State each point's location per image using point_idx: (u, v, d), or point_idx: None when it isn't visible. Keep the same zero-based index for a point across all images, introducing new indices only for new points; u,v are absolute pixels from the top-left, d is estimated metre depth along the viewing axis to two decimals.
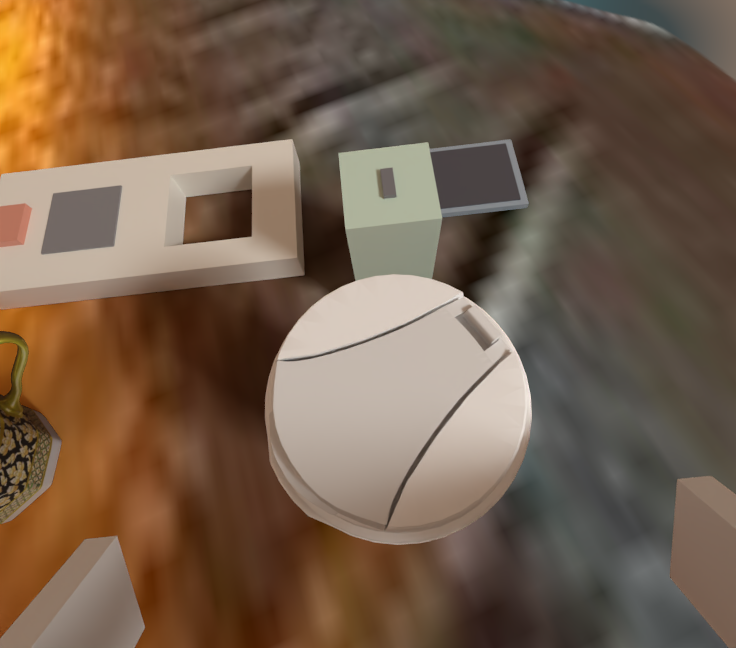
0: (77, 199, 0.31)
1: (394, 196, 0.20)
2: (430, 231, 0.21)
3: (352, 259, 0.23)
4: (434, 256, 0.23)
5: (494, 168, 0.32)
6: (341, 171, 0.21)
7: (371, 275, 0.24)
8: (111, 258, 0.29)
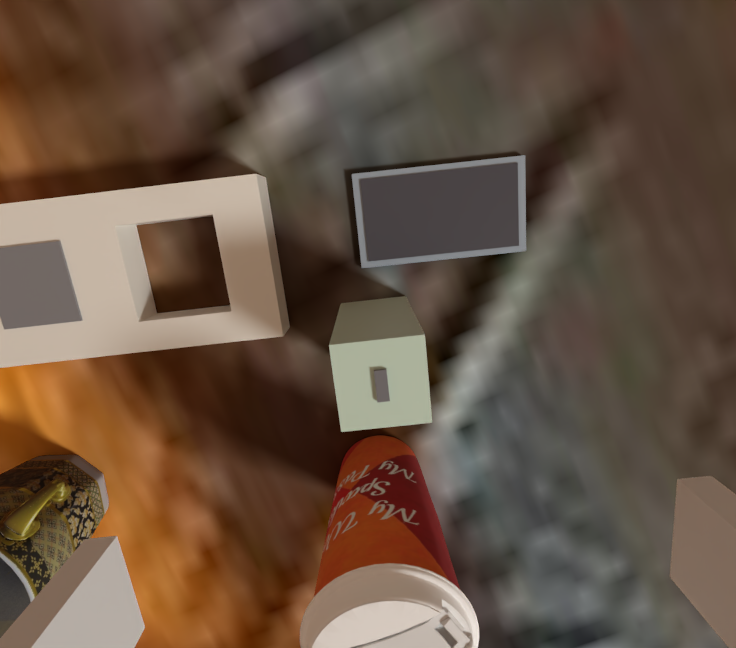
0: (13, 260, 0.26)
1: (387, 400, 0.21)
2: None
3: None
4: None
5: (497, 201, 0.28)
6: (333, 368, 0.20)
7: None
8: (85, 335, 0.28)
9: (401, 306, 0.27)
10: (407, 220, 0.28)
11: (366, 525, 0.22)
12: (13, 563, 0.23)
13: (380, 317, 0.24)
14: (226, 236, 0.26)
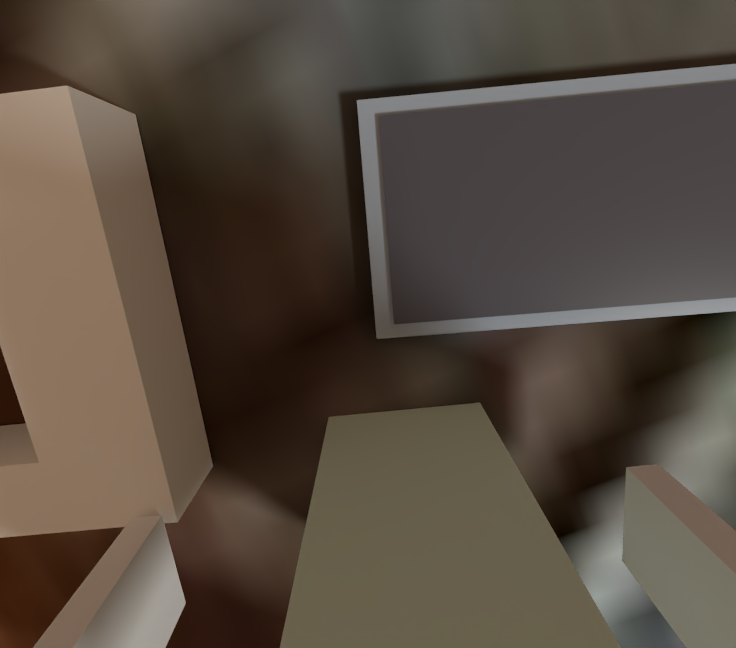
0: None
1: None
2: None
3: None
4: None
5: None
6: None
7: None
8: None
9: (490, 466, 0.10)
10: (495, 226, 0.11)
11: None
12: None
13: (446, 550, 0.07)
14: (1, 270, 0.09)
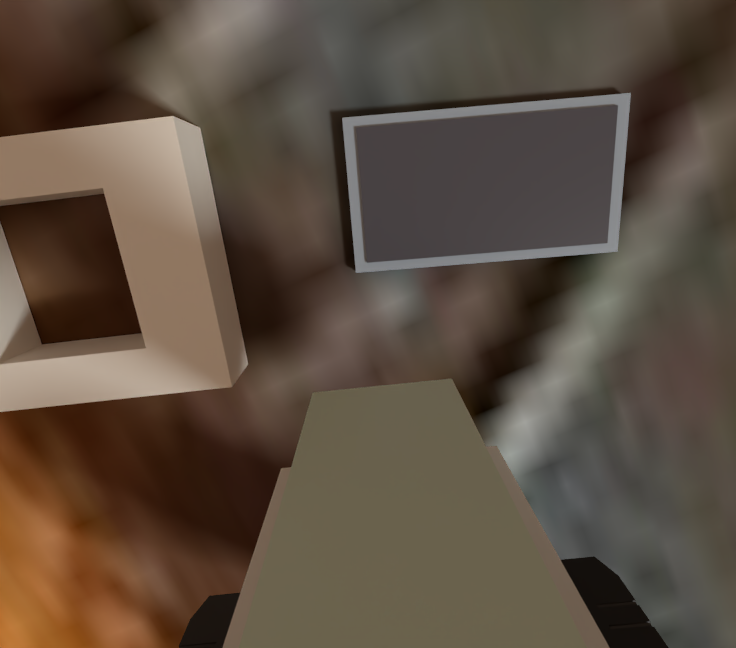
0: None
1: None
2: None
3: None
4: None
5: (580, 170, 0.17)
6: None
7: None
8: None
9: (454, 430, 0.11)
10: (430, 198, 0.17)
11: None
12: None
13: (408, 495, 0.09)
14: (129, 226, 0.16)
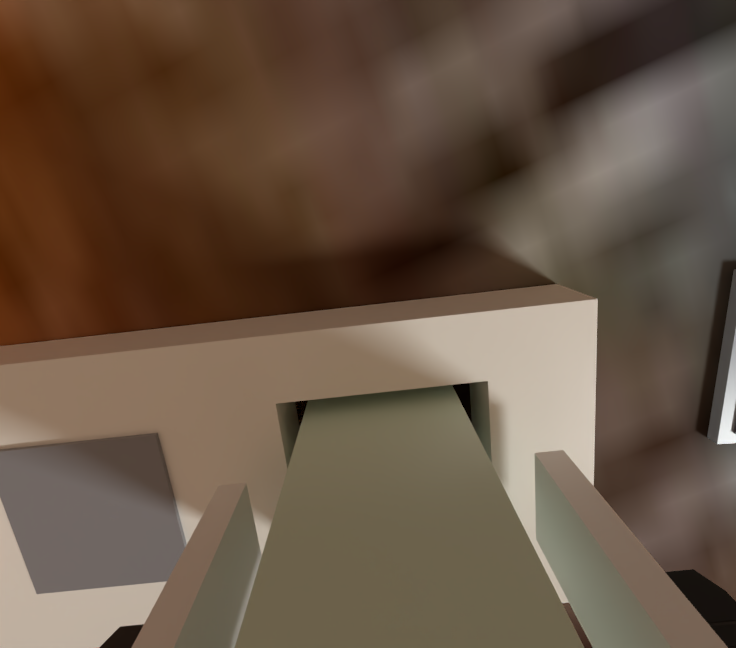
0: (58, 472, 0.12)
1: None
2: None
3: None
4: None
5: None
6: None
7: None
8: None
9: (445, 413, 0.11)
10: None
11: None
12: None
13: (400, 470, 0.09)
14: (510, 423, 0.12)
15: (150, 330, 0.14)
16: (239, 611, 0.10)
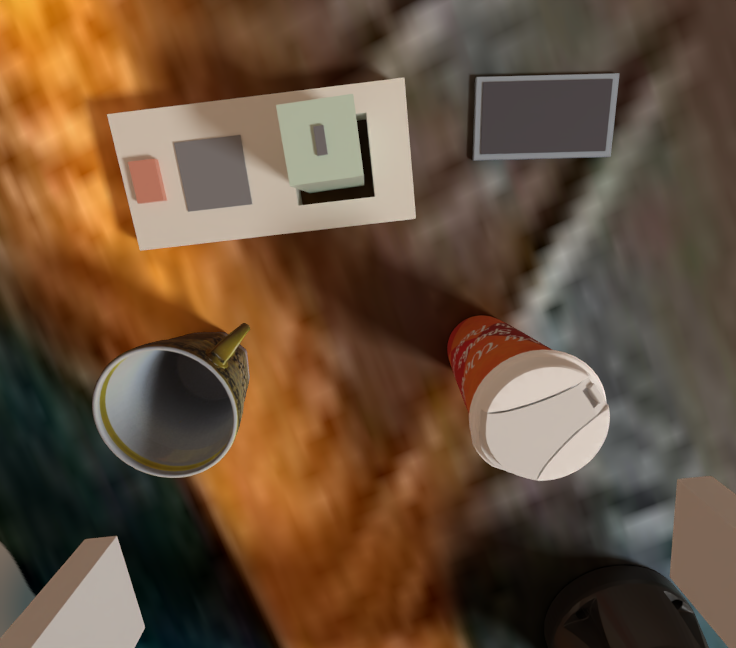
0: (201, 151, 0.32)
1: (326, 154, 0.25)
2: (356, 177, 0.27)
3: (298, 188, 0.29)
4: (363, 180, 0.29)
5: (593, 111, 0.34)
6: (280, 126, 0.25)
7: (314, 188, 0.31)
8: (253, 217, 0.34)
9: None
10: (516, 121, 0.34)
11: (508, 344, 0.28)
12: (223, 380, 0.29)
13: None
14: (376, 131, 0.32)
15: None
16: None
